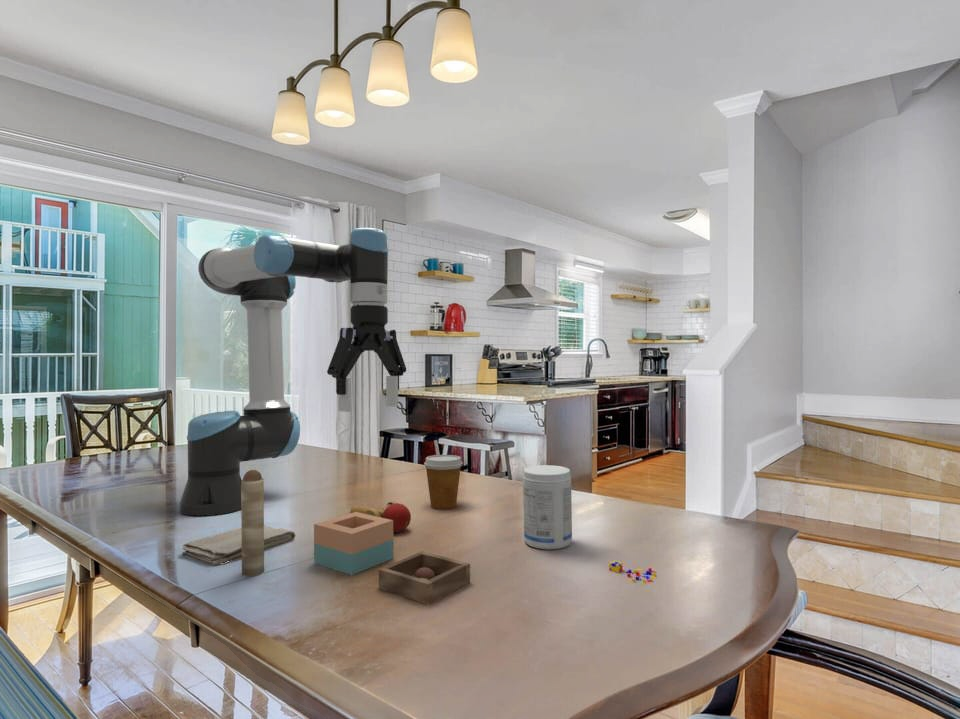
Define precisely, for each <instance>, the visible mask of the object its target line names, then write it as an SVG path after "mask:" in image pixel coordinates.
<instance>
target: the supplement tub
mask: <svg viewBox="0 0 960 719" xmlns="http://www.w3.org/2000/svg"><path fill="white" fill-rule="evenodd" d="M522 481H523V482H522V487H523V488H522V490H523V491H522V493H523V495H522V496H523V499H522V500H523V501H522V502H523V504H522V505H523V539H524V542H525V544H527V545H528V546H530V547H533V548H535V549H540V550H559V549H560V550H561V549H563V548H565V547H568V546H570V544H571V543H572V540H573V520H572V518H573V517H572V515H573V511H572V510H573V507H572V505H573V504H572V503H573V502H572V476H571V470H570V468H568V467H565V466H562V465H554V464H553V465H552V464H551V465H550V464H549V465H548V464H546V465H545V464H542V465H534V466H532V465H530V466H527V467H525V468H524V469H523V476H522Z"/></svg>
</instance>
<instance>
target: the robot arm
mask: <svg viewBox="0 0 960 719" xmlns="http://www.w3.org/2000/svg"><path fill="white" fill-rule="evenodd" d="M349 236H350V237H349V241H348V242H349V243H347V244H343V245H342V244H341V245H339V244H331V243H324V242H319V241H311V240H304V239H298V238H293V237H286V236H282V235H278V234H277V235H273V234H272V235H271V234H263V235H261V236H260V237H258V240H257V241H256V242H255V244H252V245H247V246H242V247H238V248H228V247H217V248H214V249H210V250H208V251H206V252H205V253H204V254H203V255H202V256H201V258H200V260H199V262H198V268H197V269H198V274H199V277H200V279H201V281H202V282H203V283H204V284H205V285H206V286H207V287H208V288H210V290H211V289H212V290H213V291H214V292H217V293H219V294H220V293H221V294H222V295H227V296H228V295H229V296H237V297H238V296H239V299H240V305H241V306H242V307H243V308H244V309H245V310H246V319H247V323H246V324H247V355H248V356H247V357H248V360H247V361H248V391H249V392H248V394H249V397H248V398H249V399H248V400H249V401H248V403H247V404H246V405H245V406H244V407H243V415H241V414H240V412H239V411H237V410H226V411H225V410H224V411H217V412H216V411H215V412H210V413H205V414H202V415H201V414H200V415H198V416H194V417H193V418H191V420H189V422H188V424H187V436H186V441H187V480H186V484H185V488H184V490H183V492H182V495H181V499H180V502H179V512H180V513H181V514H183V515H185V516H193V515H197V516H196V517H199V515H207V516H215V515H214V514H217V515H223V514H224V515H225V514H230V513H233V512H236V511H241V480H243V478H242V476H241V468H240V467H241V463H242V462H249V461H250V462H251V461H257V460H264V459H277V458H280V457H284V456H288V455H290V454H291V453H293V451H294V450H295V449H296V447H297V445H298V444H299V439H300V435H301V423H300V421H299V416H298V415H297V414H296V413H295V412H293V411H291V405H290V404H289V403H288V402H287V401H286V400H285V388H284V387H285V385H284V358H283V357H284V356H283V355H284V353H283V350H284V349H283V322H282V321H283V320H282V318H283V317H282V316H283V315H282V311H283V309H284V308H286V306H288V300H289V299H290V298H292V297H293V295H294V293H295V289H296V282H297V281H296V277H301V278H311V279H318V280H324V281H325V282H327V283H337V284H338V283H339V284H341V283H343V282H346V281H350V286H349V287H350V292H349V293H350V296H349V297H350V303H351V304H352V306H350V312H349V314H350V323H351V325H352V327H341V328H340V331H339V338H338V339H339V340H338V342H337V344H336V347H335V348H334V349H335V350H334V352H333V355H332V357H331V360H330V362H329V366H328V368H327V371H326V373H327V375H329V376H331V377H332V378H333V379H334V378H335V387H336V388H335V393H336V395H337V397H338V400H337V401H338V403H337V404H338V410H337V411H338V412H344V413H346V412H347V413H348V412H349V413H351V411H352V378H350V377H348V376H349V374H350V373H351V371H352V370H353V368H354V366H355V365H356V363H357V361H359V358H360V356H361V355H362V354H363V353H364V352H366V351H368V352H369V351H370V352H373V353H376V355H377V356H378V358H379V359H380V361H381V363H382V365H383V366H384V368H385V370H386V371H387V373H388V374H389V375H386V376H385V388H386V389H385V391H386V392H385V393H386V394H385V395H386V396H385V398H386V400H385V401H386V403H385V404H386V407H395V408H396V407H399V390H400V377H402V376H404V373H406V372H407V367H406V366H407V365H406V364H405V360H404V358H403V354H402V352H401V351H402V350H401V349H400V346H399V343H398V340H397V331H396V329H386V328H385V326H386V325H387V324H388V323H389V320H388V319H389V318H388V311H389V308H388V307H387V306H385V305H387V304H388V276H389V275H388V271H389V270H388V268H389V266H388V265H389V264H388V262H389V260H388V259H389V258H388V257H389V255H388V254H389V248H388V236H387V234H386V232H385V231H384V230H381V229H379V228H373V227H359V228H354V229H352V231H351V232H350V235H349Z"/></svg>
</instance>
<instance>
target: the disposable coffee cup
mask: <svg viewBox="0 0 960 719" xmlns="http://www.w3.org/2000/svg"><path fill="white" fill-rule="evenodd" d="M461 458H462V457H461V456H459V455H452V454H438V455H437V454H434V455H428V456H427V457H425V462H423V464H424V467H425V470H426V476H427V477H426V479H427V485H428V486H427V487H428V493H429V501H430V507H431V508H432V507H433V508H432V509H436V508H437V510H450V509H453V508H456V507H457V501H458V493H459V492H458V491H459V485H460V484H459V483H460V476H461V467H462V465H463V461H462V459H461ZM449 508H450V509H449Z"/></svg>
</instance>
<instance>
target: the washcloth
mask: <svg viewBox="0 0 960 719" xmlns="http://www.w3.org/2000/svg"><path fill="white" fill-rule="evenodd" d="M295 538H296V533H295V531H292V530H288V529H283V528H273V527H271V526H267V525H264V552H265V551H269V550H271V549H273V547H274V548H276V546H277V547H279V546H283V545H286V544H288V542H289V543H291V542H293V541H294V540H295ZM285 543H286V544H285ZM282 544H283V545H282ZM182 550H183V552H182V554H185V555H184V556H186V557H187V558H188V557H189V558H188V559H191V560H194V561H197V560H198V562H201V563H203V562H204V563H203V564H206V563H207V565H211V566H218V565H217V564H219V565H222V564H221V563H224V564H226V563H225V562H227V561H231V560H232V561H231V562H234V561H233V560H235V561H237V560H242V527H241V528H234V529H230V530H228V531H224V532H220V533H217V534H214V535H213V534H212V535H210V536H206V537H202V538H200V539H194V540H191V541H188V542H186V543H184V544H183V545H182Z"/></svg>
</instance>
